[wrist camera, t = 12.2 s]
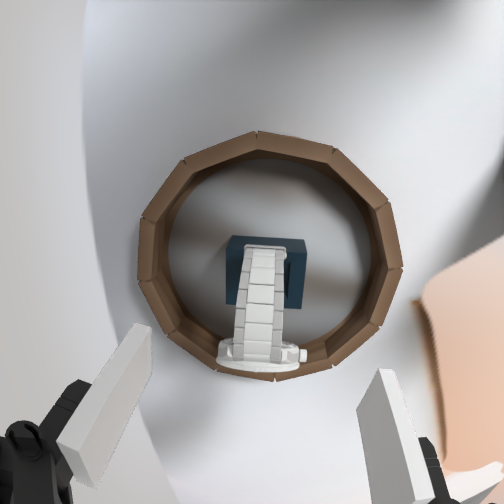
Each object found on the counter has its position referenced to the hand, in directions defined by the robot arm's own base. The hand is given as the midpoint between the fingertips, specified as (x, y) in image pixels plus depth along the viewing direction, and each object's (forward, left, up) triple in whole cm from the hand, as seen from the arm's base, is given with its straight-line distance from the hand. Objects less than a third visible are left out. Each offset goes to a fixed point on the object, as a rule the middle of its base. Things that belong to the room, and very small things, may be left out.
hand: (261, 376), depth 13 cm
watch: (0, 0, -14) cm, 14 cm away
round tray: (0, 0, -15) cm, 15 cm away
